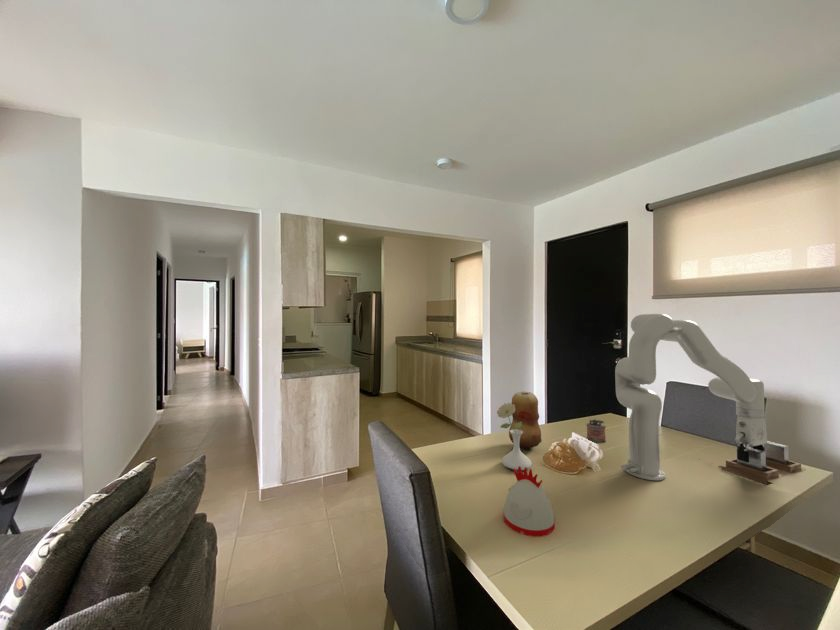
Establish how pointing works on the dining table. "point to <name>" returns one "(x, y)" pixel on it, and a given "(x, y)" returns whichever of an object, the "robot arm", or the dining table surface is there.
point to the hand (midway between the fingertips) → (751, 458)
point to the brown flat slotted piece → (759, 476)
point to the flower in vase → (515, 456)
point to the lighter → (596, 430)
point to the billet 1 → (755, 459)
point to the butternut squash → (526, 419)
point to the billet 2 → (777, 452)
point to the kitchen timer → (528, 506)
